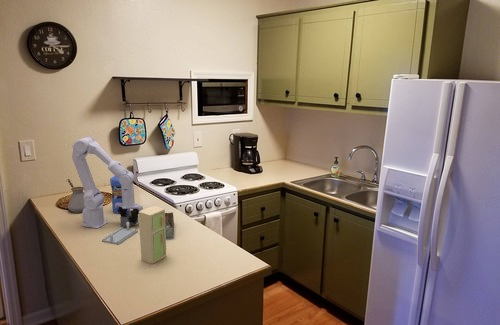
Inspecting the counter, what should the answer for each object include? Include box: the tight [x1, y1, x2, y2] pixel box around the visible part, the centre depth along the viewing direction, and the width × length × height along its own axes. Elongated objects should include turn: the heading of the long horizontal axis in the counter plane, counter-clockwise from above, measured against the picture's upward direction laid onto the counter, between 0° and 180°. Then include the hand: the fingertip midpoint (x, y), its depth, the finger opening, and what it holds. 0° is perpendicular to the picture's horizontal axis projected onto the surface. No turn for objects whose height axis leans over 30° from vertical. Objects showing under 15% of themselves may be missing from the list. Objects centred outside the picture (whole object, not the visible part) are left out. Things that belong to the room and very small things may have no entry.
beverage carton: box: [165, 212, 175, 240], centre depth 169 cm, size 8×19×7 cm, turn 12°
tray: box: [101, 222, 139, 245], centre depth 162 cm, size 9×14×5 cm, turn 163°
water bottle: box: [109, 175, 131, 215], centre depth 191 cm, size 9×9×25 cm
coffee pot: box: [65, 178, 85, 214], centre depth 196 cm, size 21×12×15 cm, turn 44°
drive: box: [119, 212, 139, 229], centre depth 175 cm, size 4×9×6 cm, turn 164°
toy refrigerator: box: [138, 205, 167, 265], centre depth 141 cm, size 8×7×21 cm
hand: (129, 222), depth 175 cm, fingers open, 5 cm apart
